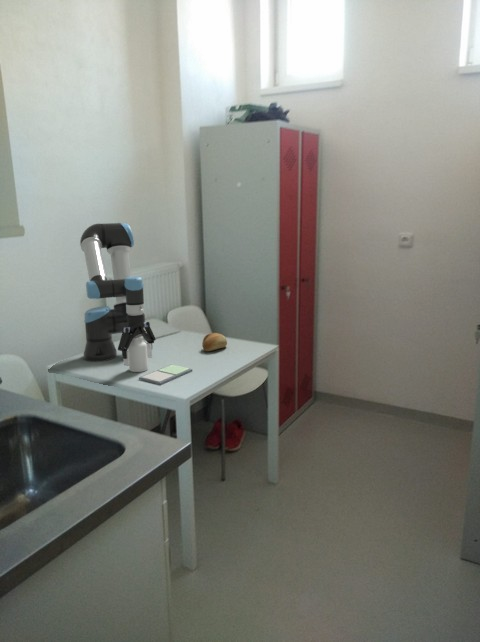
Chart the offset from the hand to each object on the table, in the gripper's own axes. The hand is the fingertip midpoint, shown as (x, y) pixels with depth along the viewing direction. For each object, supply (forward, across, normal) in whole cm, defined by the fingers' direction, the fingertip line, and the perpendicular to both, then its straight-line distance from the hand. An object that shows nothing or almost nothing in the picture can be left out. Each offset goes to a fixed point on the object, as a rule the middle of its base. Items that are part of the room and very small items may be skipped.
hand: (138, 361), depth 220 cm
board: (+4, +1, -15) cm, 15 cm away
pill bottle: (+4, 0, 0) cm, 4 cm away
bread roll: (+4, +43, -9) cm, 44 cm away
